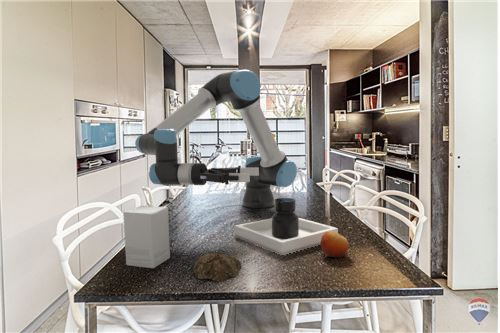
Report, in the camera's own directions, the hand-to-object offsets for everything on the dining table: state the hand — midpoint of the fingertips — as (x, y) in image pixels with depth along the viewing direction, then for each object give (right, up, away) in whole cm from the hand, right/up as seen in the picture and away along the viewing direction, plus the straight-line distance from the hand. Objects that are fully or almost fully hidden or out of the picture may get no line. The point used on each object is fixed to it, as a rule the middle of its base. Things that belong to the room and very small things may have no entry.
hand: (254, 174), depth 126 cm
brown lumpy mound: (-10, -25, -27) cm, 38 cm away
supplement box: (-30, -24, -19) cm, 43 cm away
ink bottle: (+10, -21, +1) cm, 23 cm away
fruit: (+23, -23, -16) cm, 36 cm away
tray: (+10, -21, +1) cm, 24 cm away
